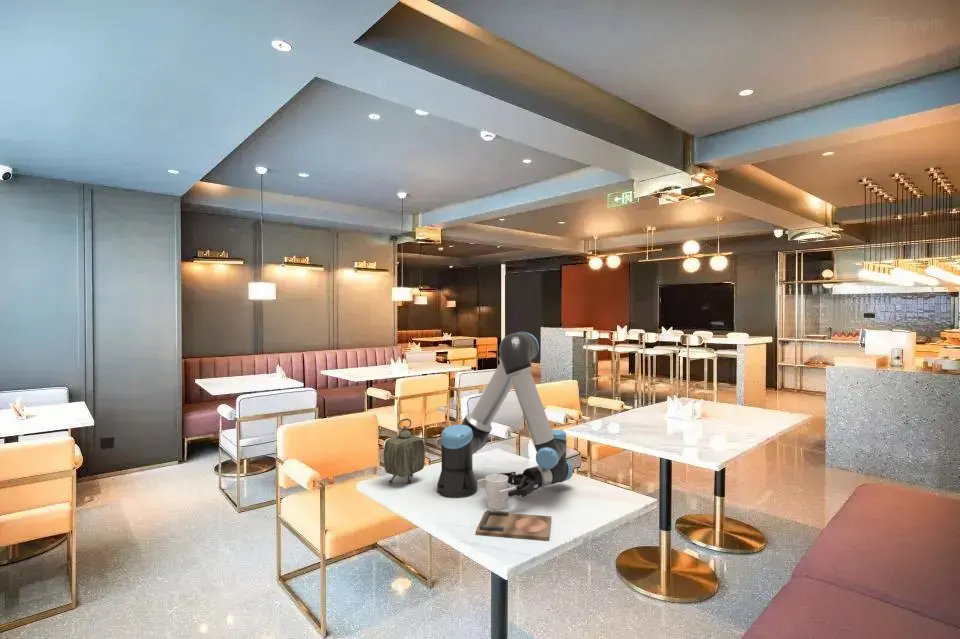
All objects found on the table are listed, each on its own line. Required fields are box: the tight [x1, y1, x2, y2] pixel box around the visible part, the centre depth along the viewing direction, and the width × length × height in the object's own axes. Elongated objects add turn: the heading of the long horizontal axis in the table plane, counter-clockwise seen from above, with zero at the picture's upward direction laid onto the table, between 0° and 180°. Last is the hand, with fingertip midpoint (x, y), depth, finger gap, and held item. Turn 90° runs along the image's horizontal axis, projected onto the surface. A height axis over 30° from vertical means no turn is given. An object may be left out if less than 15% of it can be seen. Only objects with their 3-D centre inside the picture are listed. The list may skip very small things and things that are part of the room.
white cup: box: [485, 473, 509, 511], centre depth 172 cm, size 8×8×10 cm
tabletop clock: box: [383, 418, 426, 484], centre depth 196 cm, size 14×9×25 cm, turn 140°
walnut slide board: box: [475, 509, 552, 542], centre depth 156 cm, size 22×15×2 cm
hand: (488, 489), depth 170 cm, fingers open, 12 cm apart
